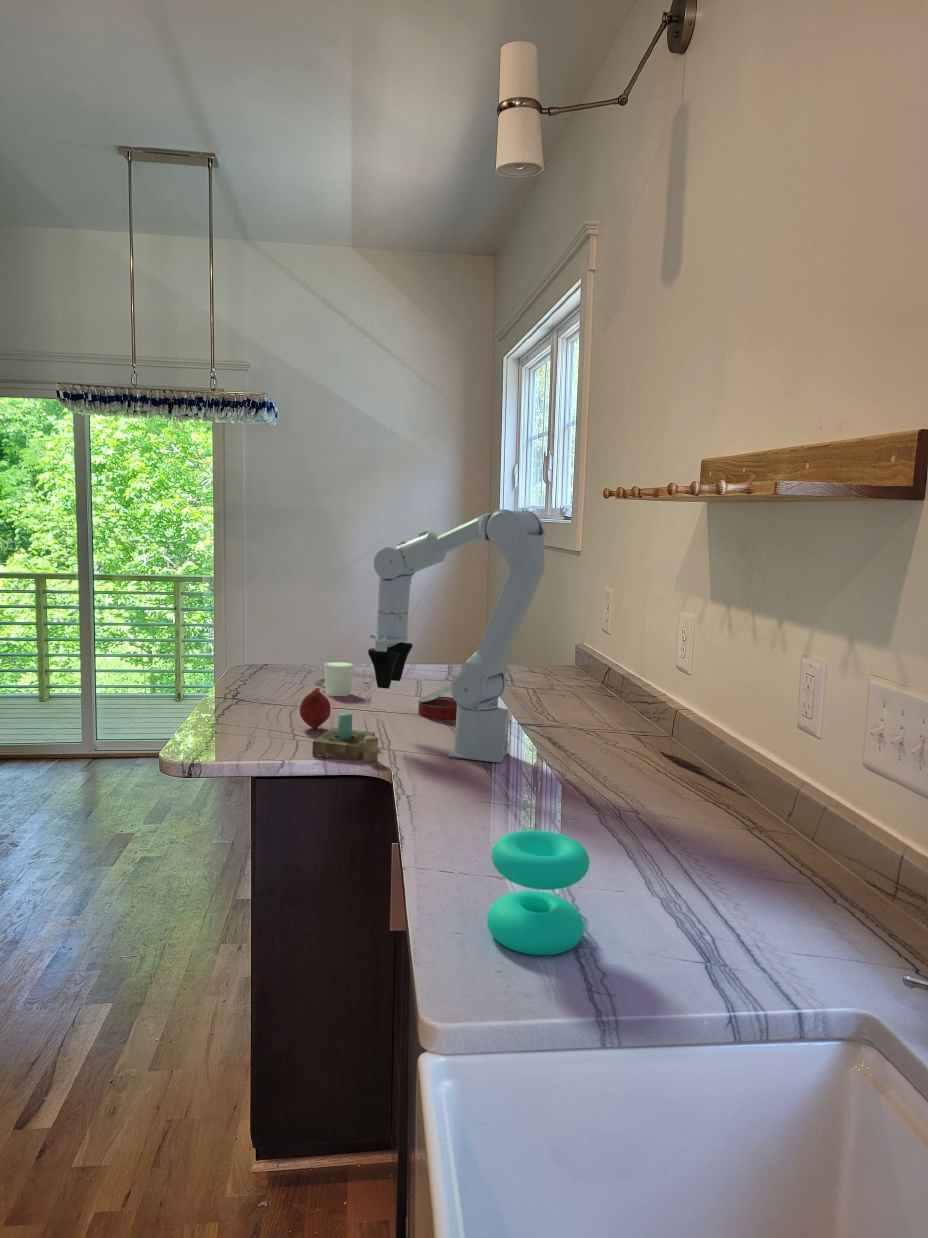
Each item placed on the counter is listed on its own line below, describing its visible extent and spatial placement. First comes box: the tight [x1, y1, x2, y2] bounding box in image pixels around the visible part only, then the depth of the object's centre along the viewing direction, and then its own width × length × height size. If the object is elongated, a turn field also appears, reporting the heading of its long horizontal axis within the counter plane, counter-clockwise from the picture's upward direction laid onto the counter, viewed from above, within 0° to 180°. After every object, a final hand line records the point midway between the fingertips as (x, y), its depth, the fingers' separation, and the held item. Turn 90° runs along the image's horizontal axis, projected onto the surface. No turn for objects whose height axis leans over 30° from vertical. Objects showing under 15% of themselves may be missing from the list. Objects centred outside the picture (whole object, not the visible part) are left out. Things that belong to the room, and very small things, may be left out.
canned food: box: [418, 684, 457, 721], centre depth 184 cm, size 11×10×10 cm
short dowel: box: [362, 735, 379, 764], centre depth 148 cm, size 2×2×4 cm
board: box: [311, 727, 376, 762], centre depth 153 cm, size 8×10×2 cm
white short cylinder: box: [323, 661, 355, 697], centre depth 198 cm, size 7×7×7 cm
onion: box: [299, 686, 332, 729], centre depth 167 cm, size 6×6×8 cm
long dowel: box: [337, 712, 353, 740], centre depth 153 cm, size 2×2×6 cm
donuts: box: [486, 829, 590, 956], centre depth 90 cm, size 10×10×10 cm
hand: (389, 684), depth 164 cm, fingers open, 7 cm apart
